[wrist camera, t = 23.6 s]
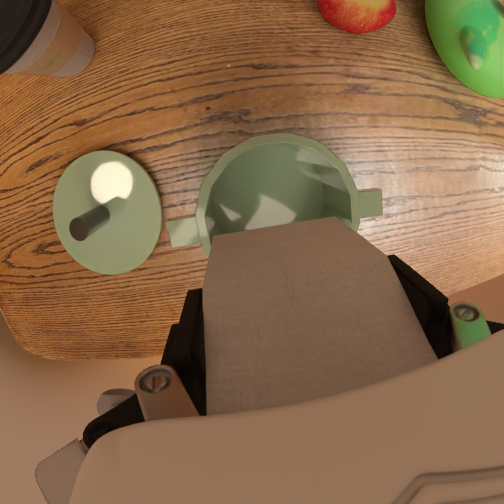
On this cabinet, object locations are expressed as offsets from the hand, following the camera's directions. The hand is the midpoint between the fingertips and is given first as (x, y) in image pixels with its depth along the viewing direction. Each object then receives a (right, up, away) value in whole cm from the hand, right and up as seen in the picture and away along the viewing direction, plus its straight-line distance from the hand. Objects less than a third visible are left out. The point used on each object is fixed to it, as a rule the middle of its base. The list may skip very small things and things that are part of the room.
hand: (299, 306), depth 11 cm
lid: (-19, +6, +18) cm, 27 cm away
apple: (+9, +30, +12) cm, 33 cm away
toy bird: (+26, +32, +12) cm, 43 cm away
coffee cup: (-23, +26, +11) cm, 37 cm away
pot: (0, +8, +19) cm, 21 cm away
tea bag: (0, +2, +5) cm, 5 cm away
